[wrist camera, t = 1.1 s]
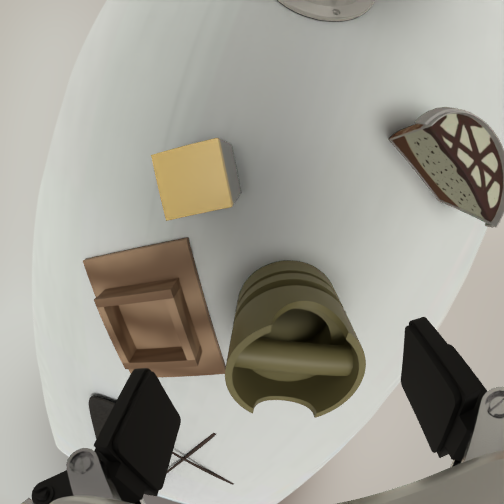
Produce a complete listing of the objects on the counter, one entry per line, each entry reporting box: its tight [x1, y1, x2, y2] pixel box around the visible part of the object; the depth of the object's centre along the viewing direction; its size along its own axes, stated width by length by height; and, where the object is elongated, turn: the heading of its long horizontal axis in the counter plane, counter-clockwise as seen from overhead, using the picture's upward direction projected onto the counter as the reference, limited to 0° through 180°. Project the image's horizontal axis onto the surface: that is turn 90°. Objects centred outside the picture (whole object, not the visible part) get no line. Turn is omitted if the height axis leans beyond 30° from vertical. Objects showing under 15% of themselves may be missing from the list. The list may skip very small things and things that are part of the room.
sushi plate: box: [89, 396, 233, 484], centre depth 43 cm, size 29×30×4 cm
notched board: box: [83, 238, 226, 377], centre depth 32 cm, size 18×14×4 cm
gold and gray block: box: [151, 138, 242, 221], centre depth 24 cm, size 5×5×9 cm
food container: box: [389, 107, 504, 227], centre depth 22 cm, size 12×6×10 cm, turn 49°
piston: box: [225, 260, 366, 417], centre depth 27 cm, size 11×12×11 cm
